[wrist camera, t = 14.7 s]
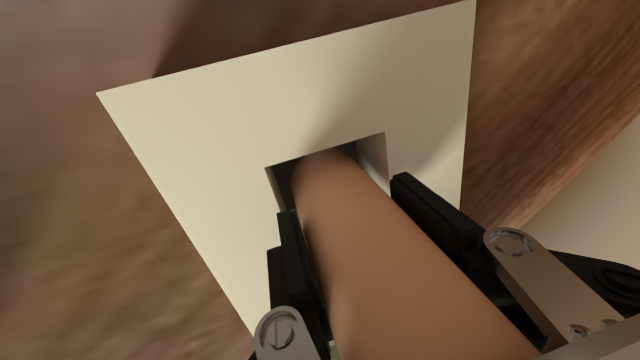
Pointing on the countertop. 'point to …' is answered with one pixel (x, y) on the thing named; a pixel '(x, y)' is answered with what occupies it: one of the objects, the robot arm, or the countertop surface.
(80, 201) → the countertop surface
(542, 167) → the countertop surface
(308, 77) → the socket block
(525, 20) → the countertop surface
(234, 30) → the countertop surface
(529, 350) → the peg
